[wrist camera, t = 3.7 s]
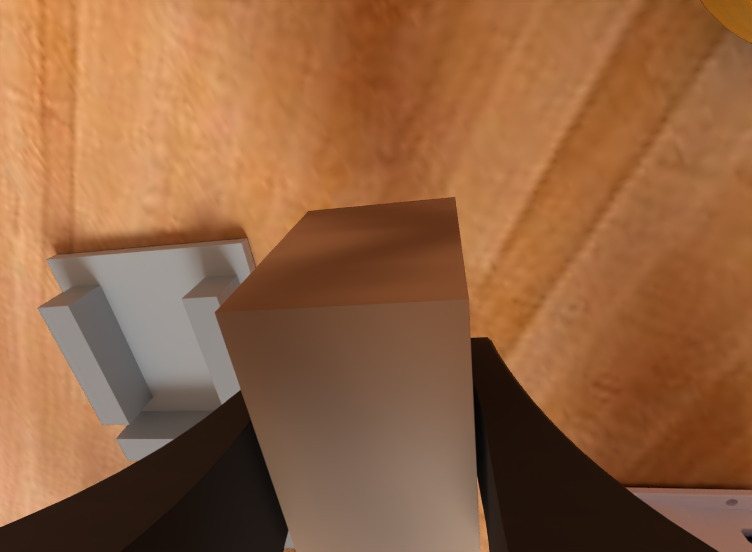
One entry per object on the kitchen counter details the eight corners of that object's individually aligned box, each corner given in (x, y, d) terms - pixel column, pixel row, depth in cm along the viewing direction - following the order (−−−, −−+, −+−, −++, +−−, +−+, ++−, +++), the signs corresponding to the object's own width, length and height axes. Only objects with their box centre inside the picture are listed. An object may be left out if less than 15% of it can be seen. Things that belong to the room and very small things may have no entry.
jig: (247, 238, 19) (220, 262, 16) (326, 515, 27) (315, 557, 24) (56, 254, 20) (8, 278, 18) (184, 510, 29) (162, 549, 26)
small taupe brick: (455, 197, 11) (468, 298, 6) (467, 426, 14) (483, 612, 9) (308, 211, 12) (214, 312, 7) (353, 426, 15) (312, 599, 10)
